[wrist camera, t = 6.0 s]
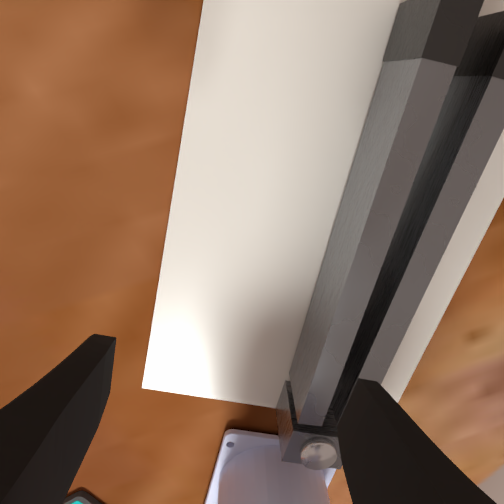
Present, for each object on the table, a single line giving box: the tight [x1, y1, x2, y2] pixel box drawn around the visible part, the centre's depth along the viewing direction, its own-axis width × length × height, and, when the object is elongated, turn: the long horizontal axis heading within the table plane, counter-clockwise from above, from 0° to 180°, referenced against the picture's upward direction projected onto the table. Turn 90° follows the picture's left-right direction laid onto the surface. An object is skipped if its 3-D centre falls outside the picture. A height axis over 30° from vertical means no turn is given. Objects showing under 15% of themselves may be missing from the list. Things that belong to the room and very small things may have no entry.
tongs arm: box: [289, 0, 484, 426], centre depth 17 cm, size 18×1×4 cm, turn 169°
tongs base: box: [276, 11, 504, 470], centre depth 17 cm, size 21×3×4 cm, turn 167°
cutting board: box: [142, 0, 504, 408], centre depth 19 cm, size 24×15×1 cm, turn 167°
